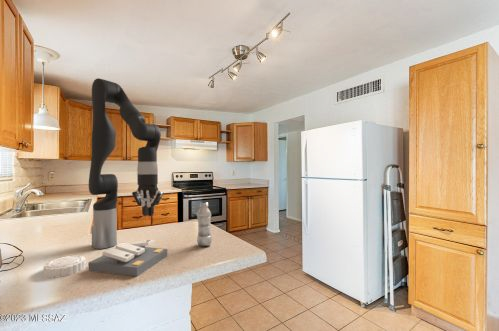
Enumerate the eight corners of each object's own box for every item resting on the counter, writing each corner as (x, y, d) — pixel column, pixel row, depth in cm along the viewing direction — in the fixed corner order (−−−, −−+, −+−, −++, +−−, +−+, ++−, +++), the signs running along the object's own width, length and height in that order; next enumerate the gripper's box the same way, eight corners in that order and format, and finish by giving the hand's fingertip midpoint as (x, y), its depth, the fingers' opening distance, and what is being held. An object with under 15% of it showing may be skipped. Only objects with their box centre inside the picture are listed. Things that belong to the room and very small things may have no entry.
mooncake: (79, 260, 94) (79, 251, 94) (90, 269, 87) (90, 259, 87) (40, 271, 85) (40, 261, 85) (47, 282, 77) (47, 271, 77)
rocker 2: (127, 247, 96) (126, 244, 96) (134, 244, 100) (133, 241, 100) (148, 245, 94) (147, 241, 94) (154, 242, 98) (154, 238, 98)
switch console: (88, 270, 85) (88, 258, 85) (125, 252, 102) (125, 241, 102) (137, 276, 80) (137, 263, 80) (167, 256, 98) (166, 245, 98)
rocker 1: (102, 254, 85) (102, 250, 85) (111, 250, 89) (111, 247, 89) (126, 262, 83) (126, 258, 82) (134, 257, 86) (134, 253, 86)
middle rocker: (115, 248, 91) (115, 245, 90) (123, 245, 94) (123, 241, 94) (137, 255, 88) (138, 251, 88) (144, 251, 92) (145, 248, 92)
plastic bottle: (208, 248, 107) (208, 203, 106) (194, 247, 108) (194, 203, 108) (213, 243, 113) (213, 201, 113) (200, 242, 114) (200, 201, 114)
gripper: (126, 173, 94) (126, 217, 94) (157, 173, 91) (157, 218, 91) (139, 172, 101) (139, 213, 101) (168, 172, 98) (168, 214, 98)
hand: (148, 215), depth 96 cm, fingers closed
